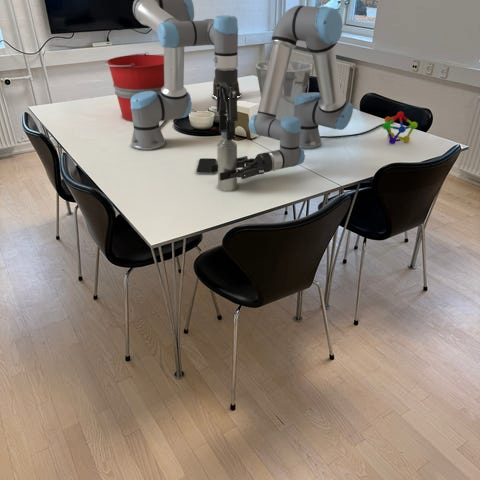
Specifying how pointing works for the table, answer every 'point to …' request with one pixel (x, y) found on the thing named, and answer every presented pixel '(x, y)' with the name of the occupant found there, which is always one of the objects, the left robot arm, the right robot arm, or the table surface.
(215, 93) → the bell
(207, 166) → the smartphone
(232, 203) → the table surface
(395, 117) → the educational toy
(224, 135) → the cap
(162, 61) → the bucket
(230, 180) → the bottle
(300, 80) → the bucket
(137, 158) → the table surface
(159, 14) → the left robot arm
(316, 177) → the table surface
